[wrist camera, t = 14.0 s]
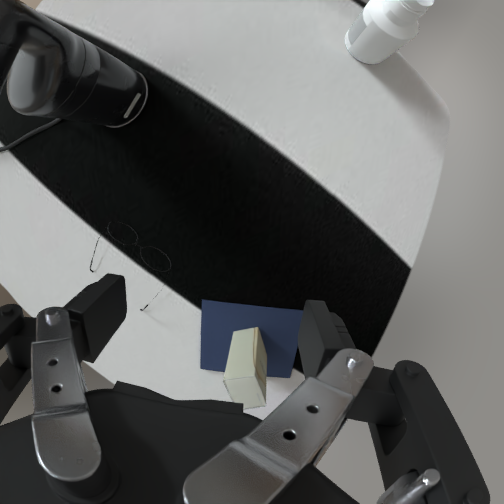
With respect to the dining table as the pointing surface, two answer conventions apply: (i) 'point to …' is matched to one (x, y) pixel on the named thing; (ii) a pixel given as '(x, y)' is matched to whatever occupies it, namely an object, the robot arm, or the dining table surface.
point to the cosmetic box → (247, 369)
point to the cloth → (245, 317)
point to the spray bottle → (384, 28)
